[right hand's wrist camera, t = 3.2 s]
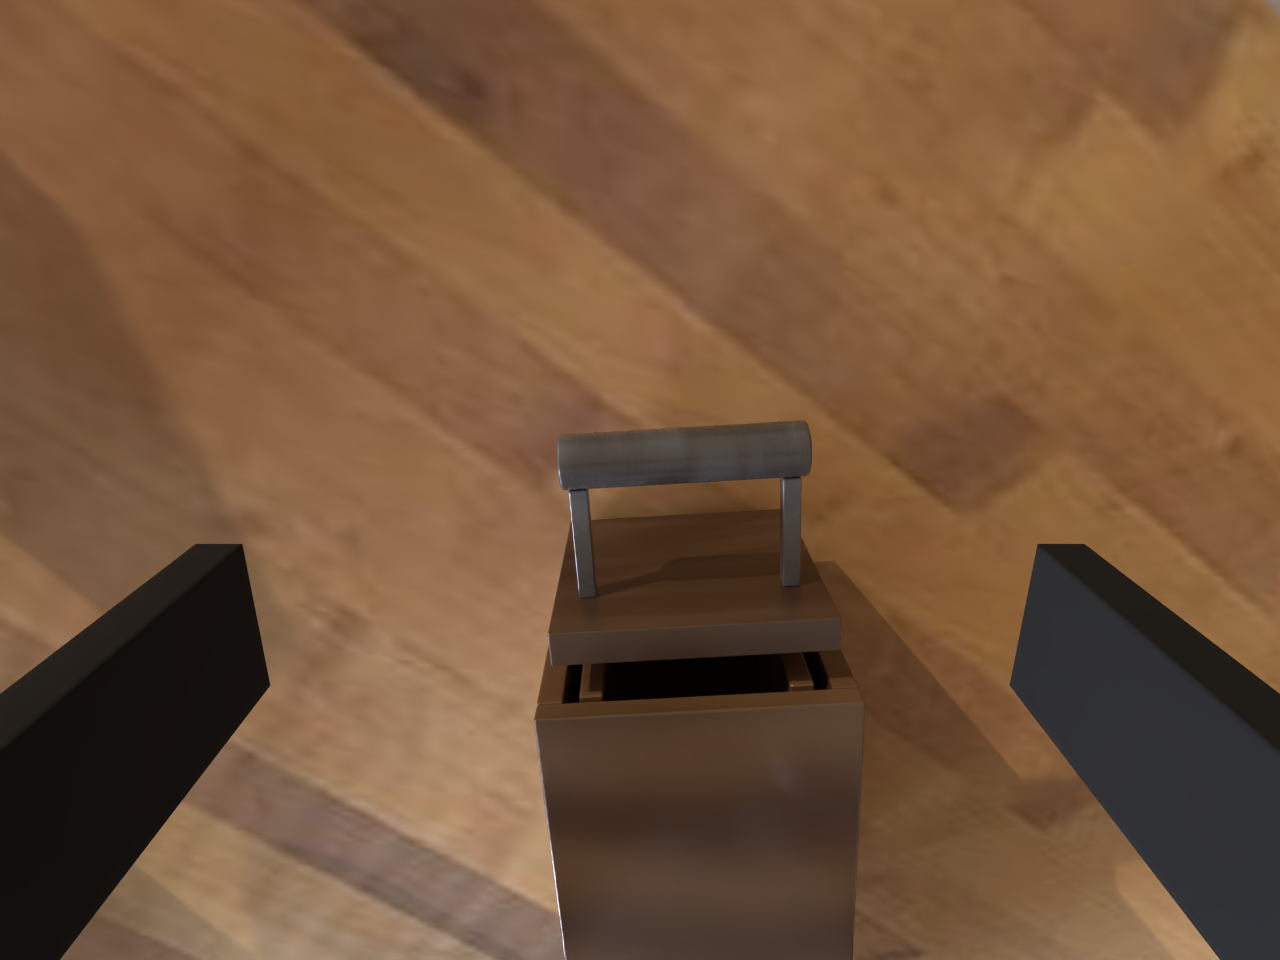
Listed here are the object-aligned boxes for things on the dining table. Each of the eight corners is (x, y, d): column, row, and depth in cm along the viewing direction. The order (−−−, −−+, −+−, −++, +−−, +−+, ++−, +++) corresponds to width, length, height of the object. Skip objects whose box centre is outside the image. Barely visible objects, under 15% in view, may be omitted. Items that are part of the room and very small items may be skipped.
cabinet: (564, 564, 34) (533, 720, 24) (796, 551, 34) (866, 702, 24) (597, 885, 40) (584, 1115, 30) (792, 875, 40) (846, 1104, 30)
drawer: (557, 389, 30) (527, 462, 22) (788, 375, 30) (847, 442, 22) (603, 845, 38) (593, 1028, 30) (785, 836, 38) (827, 1017, 30)
